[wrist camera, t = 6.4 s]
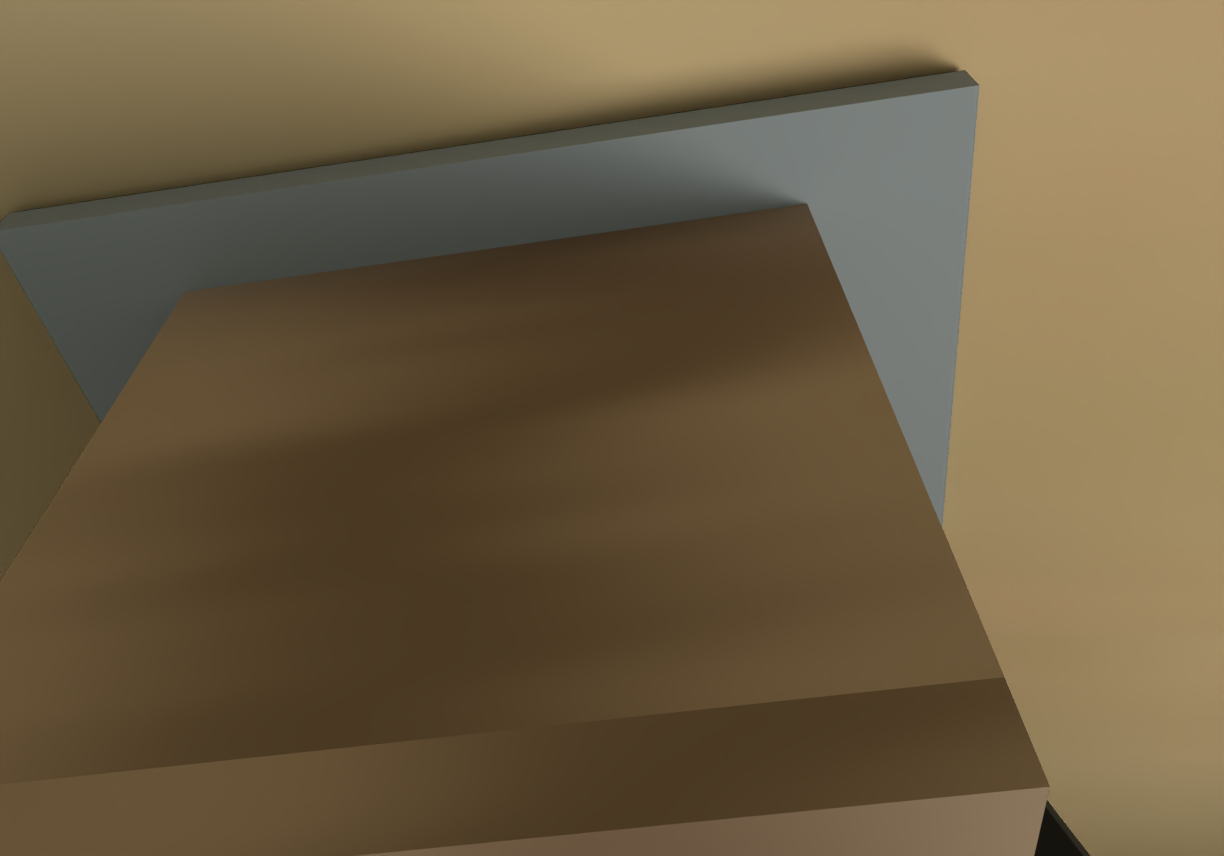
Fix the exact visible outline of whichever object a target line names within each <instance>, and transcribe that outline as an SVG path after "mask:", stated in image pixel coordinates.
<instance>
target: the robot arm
mask: <svg viewBox="0 0 1224 856" xmlns="http://www.w3.org/2000/svg"><path fill="white" fill-rule="evenodd" d="M1034 856H1090V855H1089V853H1088V852H1087V851H1086V850H1085V848H1084V847H1083V846H1082V845H1081V843H1080V842H1079V841H1078V839H1077V838H1076V837H1075V836H1074V834H1073V833H1072V832H1071V830H1070V829H1069V828H1068V827H1067V825H1066V824H1065V823H1064V822H1063V820H1062V819H1061V818H1060V816H1059V815H1058V814H1057V813H1056V811H1055V810H1054V809H1053V807H1052V806H1051V805H1050V803H1049V802H1048V801H1047V802H1046V806H1045V810H1044V815H1043V819H1042V824H1041V828H1040V832H1039V837H1038V841H1037V846H1036V850H1035V854H1034Z"/></svg>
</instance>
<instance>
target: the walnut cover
mask: <svg viewBox="0 0 1224 856" xmlns="http://www.w3.org/2000/svg"><path fill="white" fill-rule="evenodd" d="M1049 788H1050V786H1049V784H1048V781H1047V779H1046V776H1045V774H1044V772H1043V769H1042V767H1041V764H1040V762H1039V760H1038V757H1037V755H1036V752H1035V750H1034V748H1033V745H1032V743H1031V740H1030V738H1029V735H1028V733H1027V731H1026V728H1025V726H1024V723H1023V721H1022V719H1021V716H1020V714H1019V711H1018V709H1017V707H1016V704H1015V702H1014V699H1013V697H1012V695H1011V692H1010V690H1009V687H1008V685H1007V683H1006V680H1005V678H1004V675H1003V673H1002V671H1001V668H1000V666H999V663H998V661H997V659H996V656H995V654H994V651H993V649H992V647H991V644H990V642H989V639H988V637H987V635H986V632H985V630H984V627H983V625H982V623H981V620H980V618H979V615H978V613H977V611H976V608H975V606H974V603H973V601H972V598H971V596H970V594H969V591H968V589H967V586H966V584H965V582H964V579H963V577H962V574H961V572H960V570H959V567H958V565H957V562H956V560H955V558H954V555H953V553H952V550H951V548H950V546H949V543H948V541H947V538H946V536H945V534H944V531H943V529H942V526H941V524H940V522H939V519H938V517H937V514H936V512H935V510H934V507H933V505H932V502H931V500H930V498H929V495H928V493H927V490H926V488H925V486H924V483H923V481H922V478H921V476H920V474H919V471H918V469H917V466H916V464H915V461H914V459H913V457H912V454H911V452H910V449H909V447H908V445H907V442H906V440H905V437H904V435H903V433H902V430H901V428H900V425H899V423H898V421H897V418H896V416H895V413H894V411H893V409H892V406H891V404H890V401H889V399H888V397H887V394H886V392H885V389H884V387H883V385H882V382H881V380H880V377H879V375H878V373H877V370H876V368H875V365H874V363H873V361H872V358H871V356H870V353H869V351H868V349H867V346H866V344H865V341H864V339H863V336H862V334H861V332H860V329H859V327H858V324H857V322H856V320H855V317H854V315H853V312H852V310H851V308H850V305H849V303H848V300H847V298H846V296H845V293H844V291H843V288H842V286H841V284H840V281H839V279H838V276H837V274H836V272H835V269H834V267H833V264H832V262H831V260H830V257H829V255H828V252H827V250H826V248H825V245H824V243H823V240H822V238H821V236H820V233H819V231H818V228H817V226H816V224H815V221H814V219H813V216H812V214H811V212H810V209H809V207H808V204H801V205H794V206H787V207H780V208H773V209H766V210H759V211H752V212H745V213H738V214H731V215H724V216H717V217H710V218H703V219H695V220H688V221H681V222H674V223H667V224H660V225H653V226H646V227H639V228H632V229H625V230H618V231H611V232H604V233H597V234H590V235H583V236H576V237H569V238H562V239H554V240H547V241H540V242H533V243H526V244H519V245H512V246H505V247H498V248H491V249H484V250H477V251H470V252H463V253H456V254H449V255H442V256H435V257H428V258H420V259H413V260H406V261H399V262H392V263H385V264H378V265H371V266H364V267H357V268H350V269H343V270H336V271H329V272H322V273H315V274H308V275H301V276H294V277H287V278H279V279H272V280H265V281H258V282H251V283H244V284H237V285H230V286H223V287H216V288H209V289H202V290H195V291H188V292H184V294H183V295H182V297H181V298H180V300H179V302H178V303H177V305H176V306H175V308H174V309H173V311H172V313H171V314H170V316H169V317H168V319H167V320H166V322H165V324H164V325H163V327H162V328H161V330H160V331H159V333H158V334H157V336H156V338H155V339H154V341H153V342H152V344H151V345H150V347H149V349H148V350H147V352H146V353H145V355H144V356H143V358H142V360H141V361H140V363H139V364H138V366H137V367H136V369H135V371H134V372H133V374H132V375H131V377H130V378H129V380H128V381H127V383H126V385H125V386H124V388H123V389H122V391H121V392H120V394H119V396H118V397H117V399H116V400H115V402H114V403H113V405H112V407H111V408H110V410H109V411H108V413H107V414H106V416H105V418H104V419H103V421H102V422H101V424H100V425H99V427H98V429H97V430H96V432H95V433H94V435H93V436H92V438H91V439H90V441H89V443H88V444H87V446H86V447H85V449H84V450H83V452H82V454H81V455H80V457H79V458H78V460H77V461H76V463H75V465H74V466H73V468H72V469H71V471H70V472H69V474H68V476H67V477H66V479H65V480H64V482H63V483H62V485H61V486H60V488H59V490H58V491H57V493H56V494H55V496H54V497H53V499H52V501H51V502H50V504H49V505H48V507H47V508H46V510H45V512H44V513H43V515H42V516H41V518H40V519H39V521H38V523H37V524H36V526H35V527H34V529H33V530H32V532H31V533H30V535H29V537H28V538H27V540H26V541H25V543H24V544H23V546H22V548H21V549H20V551H19V552H18V554H17V555H16V557H15V559H14V560H13V562H12V563H11V565H10V566H9V568H8V570H7V571H6V573H5V574H4V576H3V577H2V579H1V580H0V856H1034V854H1035V850H1036V846H1037V841H1038V837H1039V832H1040V828H1041V824H1042V819H1043V815H1044V810H1045V806H1046V802H1047V797H1048V793H1049Z"/></svg>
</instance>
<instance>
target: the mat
mask: <svg viewBox="0 0 1224 856" xmlns="http://www.w3.org/2000/svg"><path fill="white" fill-rule="evenodd" d="M978 94H979V84H978V83H977V82H976V81H975V80H974V79H973V78H972V77H971V76H970V75H969V74H968V73H967V72H966V71H965V70H963V71H956V72H950V73H943V74H936V75H930V76H923V77H916V78H909V79H903V80H896V81H889V82H883V83H876V84H869V85H863V86H856V87H849V88H843V89H836V90H829V91H823V92H816V93H809V94H803V95H796V96H789V97H783V98H776V99H769V100H762V101H756V102H749V103H742V104H736V105H729V106H722V107H716V108H709V109H702V110H696V111H689V112H682V113H676V114H669V115H662V116H656V117H649V118H642V119H635V120H629V121H622V122H615V123H609V124H602V125H595V126H589V127H582V128H575V129H569V130H562V131H555V132H549V133H542V134H535V135H529V136H522V137H515V138H509V139H502V140H495V141H488V142H482V143H475V144H468V145H462V146H455V147H448V148H442V149H435V150H428V151H422V152H415V153H408V154H402V155H395V156H388V157H382V158H375V159H368V160H361V161H355V162H348V163H341V164H335V165H328V166H321V167H315V168H308V169H301V170H295V171H288V172H281V173H275V174H268V175H261V176H255V177H248V178H241V179H234V180H228V181H221V182H214V183H208V184H201V185H194V186H188V187H181V188H174V189H168V190H161V191H154V192H148V193H141V194H134V195H128V196H121V197H114V198H108V199H101V200H94V201H87V202H81V203H74V204H67V205H61V206H54V207H47V208H41V209H34V210H27V211H21V212H14V213H9V214H8V215H7V216H6V217H5V218H4V219H3V220H2V221H1V222H0V251H1V252H2V254H3V256H4V257H5V259H6V261H7V263H8V264H9V266H10V268H11V269H12V271H13V273H14V275H15V276H16V278H17V280H18V281H19V283H20V285H21V287H22V288H23V290H24V292H25V293H26V295H27V297H28V299H29V300H30V302H31V304H32V305H33V307H34V309H35V311H36V312H37V314H38V316H39V317H40V319H41V321H42V323H43V324H44V326H45V328H46V329H47V331H48V333H49V335H50V336H51V338H52V340H53V342H54V343H55V345H56V347H57V348H58V350H59V352H60V354H61V355H62V357H63V359H64V360H65V362H66V364H67V366H68V367H69V369H70V371H71V372H72V374H73V376H74V378H75V379H76V381H77V383H78V384H79V386H80V388H81V390H82V391H83V393H84V395H85V396H86V398H87V400H88V402H89V403H90V405H91V407H92V408H93V410H94V412H95V414H96V415H97V417H98V419H99V420H100V422H102V421H103V419H104V418H105V416H106V414H107V413H108V411H109V410H110V408H111V407H112V405H113V403H114V402H115V400H116V399H117V397H118V396H119V394H120V392H121V391H122V389H123V388H124V386H125V385H126V383H127V381H128V380H129V378H130V377H131V375H132V374H133V372H134V371H135V369H136V367H137V366H138V364H139V363H140V361H141V360H142V358H143V356H144V355H145V353H146V352H147V350H148V349H149V347H150V345H151V344H152V342H153V341H154V339H155V338H156V336H157V334H158V333H159V331H160V330H161V328H162V327H163V325H164V324H165V322H166V320H167V319H168V317H169V316H170V314H171V313H172V311H173V309H174V308H175V306H176V305H177V303H178V302H179V300H180V298H181V297H182V295H183V294H184V292H188V291H195V290H202V289H209V288H216V287H223V286H230V285H237V284H244V283H251V282H258V281H265V280H272V279H279V278H287V277H294V276H301V275H308V274H315V273H322V272H329V271H336V270H343V269H350V268H357V267H364V266H371V265H378V264H385V263H392V262H399V261H406V260H413V259H420V258H428V257H435V256H442V255H449V254H456V253H463V252H470V251H477V250H484V249H491V248H498V247H505V246H512V245H519V244H526V243H533V242H540V241H547V240H554V239H562V238H569V237H576V236H583V235H590V234H597V233H604V232H611V231H618V230H625V229H632V228H639V227H646V226H653V225H660V224H667V223H674V222H681V221H688V220H695V219H703V218H710V217H717V216H724V215H731V214H738V213H745V212H752V211H759V210H766V209H773V208H780V207H787V206H794V205H801V204H808V207H809V209H810V212H811V214H812V216H813V219H814V221H815V224H816V226H817V228H818V231H819V233H820V236H821V238H822V240H823V243H824V245H825V248H826V250H827V252H828V255H829V257H830V260H831V262H832V264H833V267H834V269H835V272H836V274H837V276H838V279H839V281H840V284H841V286H842V288H843V291H844V293H845V296H846V298H847V300H848V303H849V305H850V308H851V310H852V312H853V315H854V317H855V320H856V322H857V324H858V327H859V329H860V332H861V334H862V336H863V339H864V341H865V344H866V346H867V349H868V351H869V353H870V356H871V358H872V361H873V363H874V365H875V368H876V370H877V373H878V375H879V377H880V380H881V382H882V385H883V387H884V389H885V392H886V394H887V397H888V399H889V401H890V404H891V406H892V409H893V411H894V413H895V416H896V418H897V421H898V423H899V425H900V428H901V430H902V433H903V435H904V437H905V440H906V442H907V445H908V447H909V449H910V452H911V454H912V457H913V459H914V461H915V464H916V466H917V469H918V471H919V474H920V476H921V478H922V481H923V483H924V486H925V488H926V490H927V493H928V495H929V498H930V500H931V502H932V505H933V507H934V510H935V512H936V514H937V517H938V519H939V522H940V524H941V526H942V522H943V510H944V498H945V486H946V474H947V462H948V450H949V439H950V427H951V415H952V403H953V391H954V379H955V367H956V355H957V343H958V332H959V320H960V308H961V296H962V284H963V272H964V260H965V248H966V236H967V225H968V213H969V201H970V189H971V177H972V165H973V153H974V141H975V129H976V118H977V106H978Z"/></svg>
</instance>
